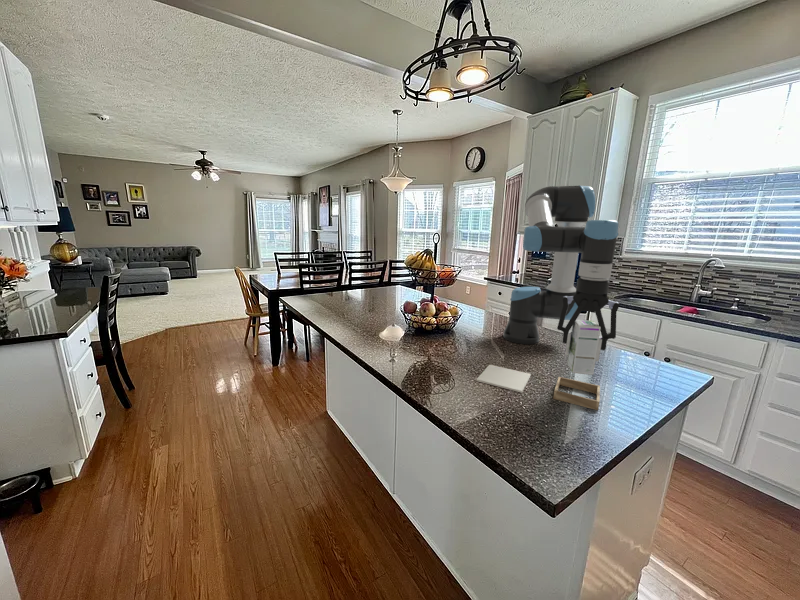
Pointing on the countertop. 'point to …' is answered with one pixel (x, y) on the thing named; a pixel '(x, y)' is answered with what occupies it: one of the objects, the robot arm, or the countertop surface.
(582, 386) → the corral
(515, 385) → the board
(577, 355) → the syrup box
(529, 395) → the countertop surface
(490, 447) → the countertop surface
